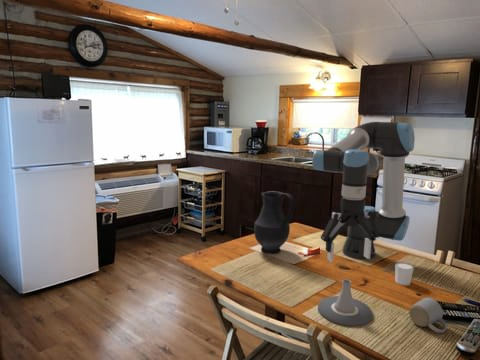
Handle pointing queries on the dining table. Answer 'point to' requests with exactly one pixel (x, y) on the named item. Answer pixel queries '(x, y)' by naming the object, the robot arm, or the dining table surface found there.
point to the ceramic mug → (427, 314)
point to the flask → (345, 299)
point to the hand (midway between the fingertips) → (348, 259)
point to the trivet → (347, 319)
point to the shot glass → (403, 273)
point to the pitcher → (273, 222)
